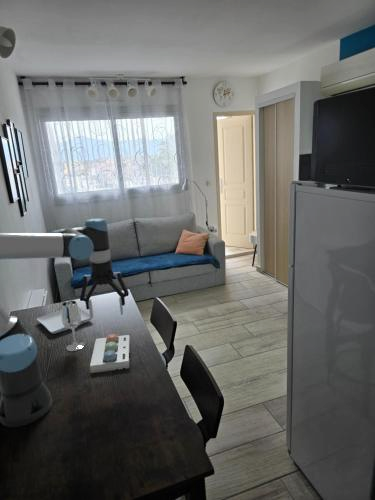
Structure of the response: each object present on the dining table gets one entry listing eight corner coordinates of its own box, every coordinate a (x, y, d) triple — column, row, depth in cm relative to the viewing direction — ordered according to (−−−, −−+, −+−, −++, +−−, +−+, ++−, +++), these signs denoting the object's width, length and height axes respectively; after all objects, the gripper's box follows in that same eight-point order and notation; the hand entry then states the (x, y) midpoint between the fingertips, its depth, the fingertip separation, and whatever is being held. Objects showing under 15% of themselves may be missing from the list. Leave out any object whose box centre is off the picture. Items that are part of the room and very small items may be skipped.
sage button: (116, 353, 128) (116, 346, 127) (105, 354, 128) (104, 348, 127) (117, 347, 132) (116, 341, 132) (106, 348, 132) (105, 342, 131)
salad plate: (36, 324, 163) (35, 317, 162) (77, 310, 176) (76, 304, 175) (52, 338, 147) (50, 332, 146) (95, 322, 161) (94, 316, 160)
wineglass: (77, 352, 134) (70, 308, 129) (62, 350, 137) (54, 306, 132) (88, 343, 141) (82, 300, 136) (73, 340, 144) (67, 298, 139)
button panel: (129, 367, 122) (128, 360, 121) (90, 373, 120) (89, 365, 119) (129, 341, 141) (129, 334, 140) (96, 345, 139) (96, 338, 138)
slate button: (115, 362, 122) (115, 356, 121) (103, 364, 121) (103, 357, 121) (116, 356, 126) (115, 349, 125) (104, 357, 125) (104, 351, 125)
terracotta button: (117, 344, 135) (116, 338, 134) (106, 345, 134) (105, 339, 133) (118, 339, 139) (117, 333, 138) (107, 340, 138) (106, 334, 137)
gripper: (132, 255, 126) (136, 307, 131) (70, 260, 123) (77, 314, 128) (131, 260, 119) (137, 315, 124) (66, 266, 115) (74, 322, 121)
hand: (107, 314), depth 126 cm, fingers open, 11 cm apart
